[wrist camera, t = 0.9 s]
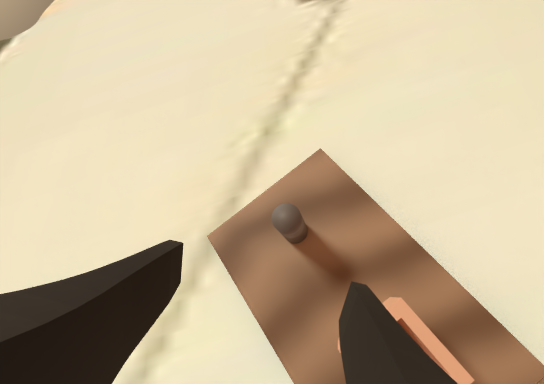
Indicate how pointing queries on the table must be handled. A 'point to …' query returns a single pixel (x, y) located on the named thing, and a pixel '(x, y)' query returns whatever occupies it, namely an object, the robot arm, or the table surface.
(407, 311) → the collar
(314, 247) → the plate
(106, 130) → the table surface
